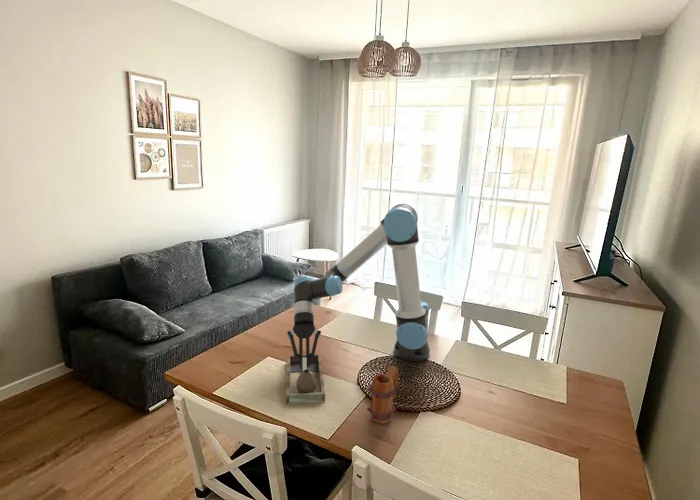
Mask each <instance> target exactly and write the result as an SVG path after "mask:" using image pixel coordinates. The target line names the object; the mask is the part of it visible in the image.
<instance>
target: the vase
mask: <svg viewBox="0 0 700 500" xmlns="http://www.w3.org/2000/svg"><path fill="white" fill-rule="evenodd" d="M315 377H316V376H314V374H313V373H312V371H310V370H308V369H306V370H303V372H301V373H300V374H299V376H298V377H297V380H296V383H295V384H296V385H295V387H296V391H297V394H299V393H315V392H316V388H317V380H316V378H315Z"/></svg>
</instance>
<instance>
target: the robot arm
mask: <svg viewBox="0 0 700 500" xmlns="http://www.w3.org/2000/svg"><path fill="white" fill-rule="evenodd" d="M418 218H419V217H418V213H417V211H416V210H415V208H414V207H413V206H411V205H409V204H407V203H399V204H397V205H394V206H393V207H392V208H391V209H389V210H388V212H387V213H386V215H385V216H384V218H383V219H382V220H381V221H380V222H379V223H380V224H379V226H378V227H377V228H375V229H374V230H373V231H372V232H371V233H369V234H368V235H367V236H366V237H365V238H364V239H362V240H361V242H360V243H358V244H357V245H356V246H355V247H354V248H353V249H352V250H350V251H349V252H348V253H347V254H346V255H345V256H344V257H343V258H341V259H340V260H339V261H338V262H337V263H336V264H335V265H334V266H332V267H331V268H330V269H329V270H328V271H327V273H326V274H324V275H323V276H322V278H319V279H315V280H314V279H313V278H311V277H310V276H299V277H297V278H296V279H295V280H294V287H293V291H294V292H293V294H294V295H293V296H294V297H293V298H294V303H293V310H294V311H293V314H294V315H293V318H294V319H293V328H292V329H291V330H288V331H287V333H286V334H287V335H286V336H287V337H288V339H289V340H290V345H291V349H292V352H293V355H294V357H295V358H299V367H300V368H302V372H303V370H306V369H307V367H309V366H310V358H311V357H314V354H316V350H317V344H318V339H319V338H320V336H321V334H322V331H321V330H318V329H316V326H315V321H314V319H315V316H314V300H318V299H323V298H328V297H334V296H337V295H339V294H342V292H343V283H344V282H345V281H346V280H347V279H349V278H350V277H351V276H352V274H354V273H355V272H356V271H357V270H359V268H361V267H362V266H363V265H364V264H366V263H367V261H369V260H370V259H372V258H373V257H374V256H375V255H377V253H378V252H379V251H381V250H382V249H383V248H384V247H385V246H386V245H387V246H388V247H390V248H391V251H392V259H393V260H392V261H393V268H394V276H395V286H396V293H397V295H396V296H397V304H398V308H397V310H396V312H395V321H396V333H395V334H396V341H395V342H394V343H395V344H394V347H393V352H394V355H396V356H397V357H398V358H400V359H402V360H405V361H409V362H419V361H420V362H421V361H424V360H426V359H428V358H429V357H430V354H431V352H430V351H431V349H430V345H429V340H428V339H429V312H430V306H429V304H428V303H427V302H426V301H425V302H424V301H422V299H421V291H420V290H421V289H420V280H419V269H418V261H417V250H416V246H417V245H418V243H419V242H420V238H419V232H418V230H419V229H418V228H419V227H418V221H419V219H418ZM313 334H314V339H313V344H312V348H311V352H310V338H311V336H313ZM294 335H296V337H297V338H298V347H299V348H298V350H299V351H297V346H296V342H295V338H294ZM304 339H305V355H306V357H303V355H304V354H303V353H304V352H303V346H304V345H303V340H304ZM302 372H301V373H302Z"/></svg>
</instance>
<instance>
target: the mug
mask: <svg viewBox="0 0 700 500" xmlns="http://www.w3.org/2000/svg"><path fill="white" fill-rule="evenodd" d="M399 380H400V373H399V369H398V367H396V366H393V365H390V366H389V367H388V369H387V372H386V373H385V374H383V373H379V374H377V375H375V376H374V377H373V379H372V384H371V386H370V387H369V388H368V390H369V392H370V393H371V397H372V398H371V401H372V402H371V404H370V405H369V406H368V407H367V408H366V411H367V412H369V413H370V416H371V419H372V421H373V422H375V423H378V424H386V423H389V422H390V421H391V419H393V416H394V415H395V412H396V411H397V407H395V405H394V403H393V402H394V399H395V397H396V393H397V389H398V386H399Z"/></svg>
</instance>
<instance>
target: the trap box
mask: <svg viewBox="0 0 700 500" xmlns="http://www.w3.org/2000/svg"><path fill="white" fill-rule="evenodd" d="M303 357H306V354H303ZM322 364H323V363H322V358H321V354H320V353H315V354H314V357H311V358H310V366H309V367H307V369H308V370H310V372H318V377H319V385H320V392H318V391H317V392H314V393H290V392H291V390H290V389H291V387H290V386H291V373H302V368H300V367H299V358H295V357H294V354H290V355H289V354H288V355H287V365H286V366H287V367H286V368H287V369H286V371H287V372H286V391H285V393H286V396H285V399H286V401H285V402H286V405H288V404H292V403H293V404H306V403H305V402H311V403H322V402H321V401H325V402H326V389H325V382H324V375H323V374H324V373H323V366H322ZM293 404H292V405H293Z"/></svg>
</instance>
